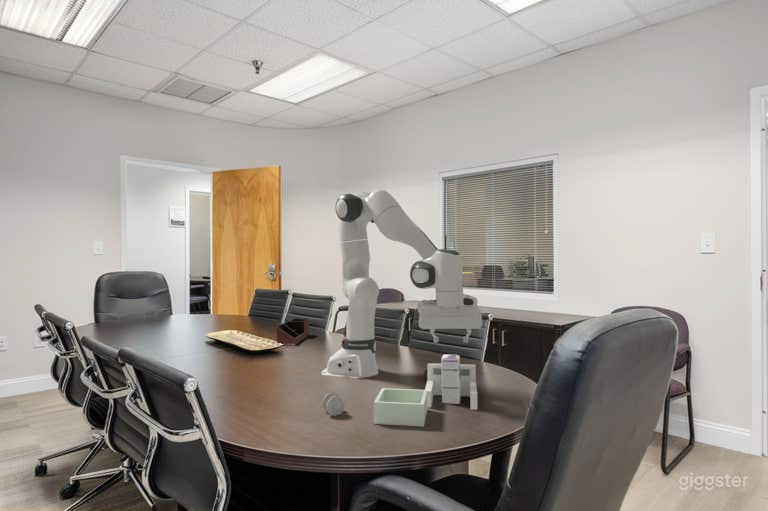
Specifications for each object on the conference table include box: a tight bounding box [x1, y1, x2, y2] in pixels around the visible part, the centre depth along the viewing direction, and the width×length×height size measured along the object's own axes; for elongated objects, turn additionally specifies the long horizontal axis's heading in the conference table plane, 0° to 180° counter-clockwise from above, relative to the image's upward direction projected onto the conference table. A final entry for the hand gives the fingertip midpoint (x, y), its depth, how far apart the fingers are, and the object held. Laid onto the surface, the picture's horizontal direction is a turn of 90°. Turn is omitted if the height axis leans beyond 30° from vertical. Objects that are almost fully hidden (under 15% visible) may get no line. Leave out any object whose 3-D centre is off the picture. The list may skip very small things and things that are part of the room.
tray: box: [373, 387, 428, 427], centre depth 135 cm, size 14×14×6 cm
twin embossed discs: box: [322, 391, 346, 416], centre depth 138 cm, size 6×4×6 cm
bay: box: [424, 362, 478, 411], centre depth 150 cm, size 16×16×10 cm
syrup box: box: [440, 353, 462, 405], centre depth 149 cm, size 6×6×14 cm
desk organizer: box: [276, 318, 310, 347], centre depth 251 cm, size 10×29×11 cm, turn 174°
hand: (450, 342), depth 149 cm, fingers open, 8 cm apart
